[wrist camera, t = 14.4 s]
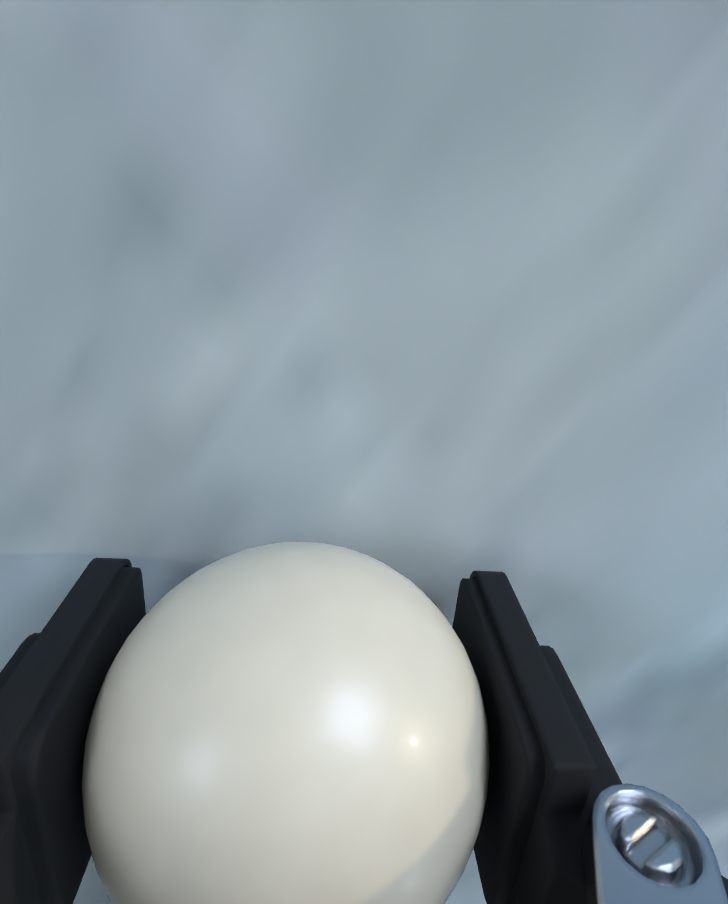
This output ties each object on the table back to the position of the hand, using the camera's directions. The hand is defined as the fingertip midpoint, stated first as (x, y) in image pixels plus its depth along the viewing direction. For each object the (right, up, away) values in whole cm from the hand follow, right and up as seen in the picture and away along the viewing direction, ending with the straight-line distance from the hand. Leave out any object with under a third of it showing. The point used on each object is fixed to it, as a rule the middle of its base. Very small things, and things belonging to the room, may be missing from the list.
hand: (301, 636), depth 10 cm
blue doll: (0, -3, +2) cm, 4 cm away
